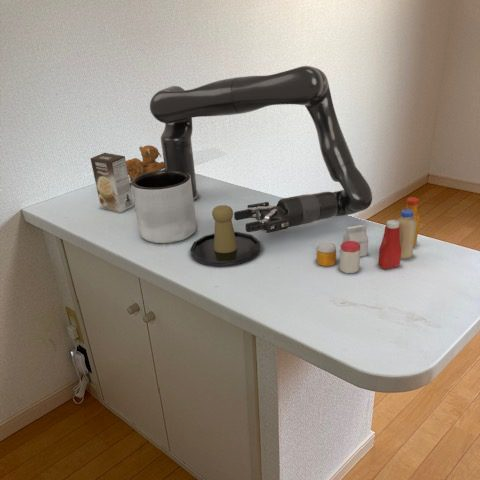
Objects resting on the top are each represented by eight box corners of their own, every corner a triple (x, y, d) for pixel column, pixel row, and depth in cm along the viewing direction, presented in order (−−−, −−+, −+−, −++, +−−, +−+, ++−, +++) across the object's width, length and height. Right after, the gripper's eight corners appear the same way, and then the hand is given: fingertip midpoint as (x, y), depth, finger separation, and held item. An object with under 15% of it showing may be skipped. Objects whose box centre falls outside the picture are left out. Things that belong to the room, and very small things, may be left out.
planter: (128, 240, 142) (117, 185, 134) (161, 218, 154) (153, 167, 145) (176, 249, 136) (168, 192, 127) (208, 226, 147) (202, 172, 139)
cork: (229, 254, 129) (225, 213, 123) (209, 250, 132) (204, 209, 126) (241, 245, 133) (239, 204, 127) (222, 241, 136) (218, 201, 130)
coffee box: (99, 208, 164) (88, 158, 156) (114, 201, 169) (103, 152, 160) (121, 213, 160) (110, 161, 151) (134, 206, 165) (125, 155, 156)
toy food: (409, 239, 132) (415, 193, 125) (437, 260, 121) (444, 212, 115) (310, 256, 128) (311, 209, 121) (330, 279, 117) (332, 230, 110)
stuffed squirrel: (172, 184, 180) (167, 146, 172) (134, 193, 174) (127, 154, 167) (161, 177, 187) (155, 140, 180) (124, 186, 182) (117, 148, 174)
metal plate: (176, 256, 132) (175, 251, 131) (220, 231, 144) (219, 226, 143) (232, 273, 123) (232, 268, 122) (274, 244, 134) (274, 239, 134)
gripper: (287, 188, 138) (230, 199, 134) (311, 205, 127) (249, 217, 123) (287, 214, 142) (232, 225, 138) (310, 233, 131) (250, 246, 127)
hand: (240, 222), depth 130 cm, fingers open, 8 cm apart
